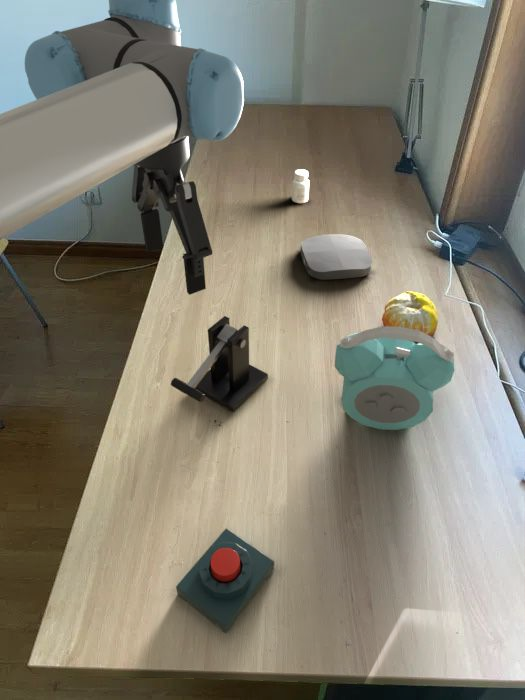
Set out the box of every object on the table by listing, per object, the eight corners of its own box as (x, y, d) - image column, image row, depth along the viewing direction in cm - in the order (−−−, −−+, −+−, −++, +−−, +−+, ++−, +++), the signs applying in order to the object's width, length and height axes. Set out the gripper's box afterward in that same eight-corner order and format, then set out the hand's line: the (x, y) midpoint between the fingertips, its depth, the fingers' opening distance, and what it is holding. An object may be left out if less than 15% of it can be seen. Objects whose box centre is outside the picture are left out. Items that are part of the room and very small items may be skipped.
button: (227, 588, 68) (227, 581, 67) (205, 571, 70) (204, 564, 69) (245, 565, 70) (245, 558, 69) (223, 549, 72) (223, 542, 71)
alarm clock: (432, 401, 96) (461, 309, 83) (435, 445, 89) (467, 352, 76) (330, 388, 98) (342, 296, 85) (325, 430, 91) (337, 337, 78)
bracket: (233, 412, 94) (230, 356, 85) (192, 389, 98) (186, 333, 89) (268, 378, 100) (269, 323, 91) (228, 358, 104) (225, 302, 95)
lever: (202, 405, 87) (197, 398, 85) (173, 388, 90) (168, 381, 88) (249, 341, 92) (246, 333, 90) (221, 327, 94) (217, 319, 92)
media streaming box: (375, 277, 123) (377, 266, 121) (309, 282, 122) (310, 271, 120) (357, 242, 134) (359, 231, 132) (297, 246, 132) (297, 235, 130)
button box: (226, 633, 68) (225, 619, 65) (177, 594, 71) (174, 579, 69) (274, 569, 74) (275, 554, 71) (226, 536, 77) (225, 520, 75)
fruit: (375, 307, 115) (393, 276, 109) (422, 321, 116) (441, 291, 111) (379, 342, 106) (399, 310, 101) (429, 357, 108) (451, 326, 103)
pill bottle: (311, 200, 149) (313, 172, 144) (300, 205, 147) (301, 177, 142) (299, 194, 152) (301, 166, 146) (288, 199, 149) (289, 171, 144)
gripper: (235, 157, 66) (238, 301, 80) (142, 96, 81) (159, 227, 95) (178, 173, 63) (192, 320, 77) (93, 106, 78) (118, 240, 92)
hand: (174, 268), depth 86 cm, fingers open, 13 cm apart
